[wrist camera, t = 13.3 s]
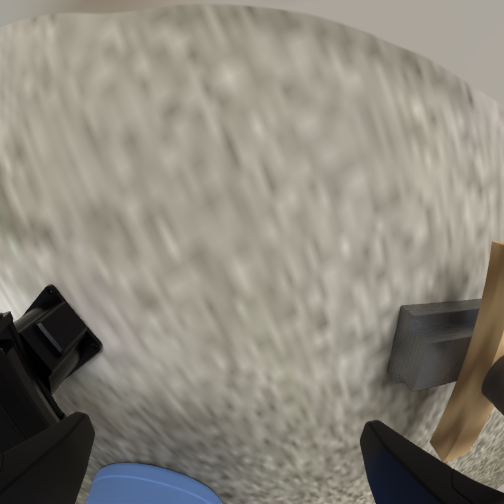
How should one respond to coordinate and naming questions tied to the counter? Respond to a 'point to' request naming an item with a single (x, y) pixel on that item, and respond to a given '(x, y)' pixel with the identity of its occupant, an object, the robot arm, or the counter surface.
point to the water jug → (147, 486)
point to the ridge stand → (432, 342)
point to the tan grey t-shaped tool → (477, 371)
